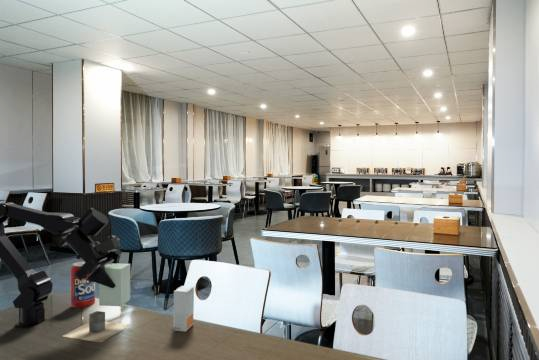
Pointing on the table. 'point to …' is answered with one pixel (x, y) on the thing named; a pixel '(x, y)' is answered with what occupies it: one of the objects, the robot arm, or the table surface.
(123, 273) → the pale green carton
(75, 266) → the soda can
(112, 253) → the robot arm
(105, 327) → the birch base
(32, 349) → the table surface
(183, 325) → the skincare box
